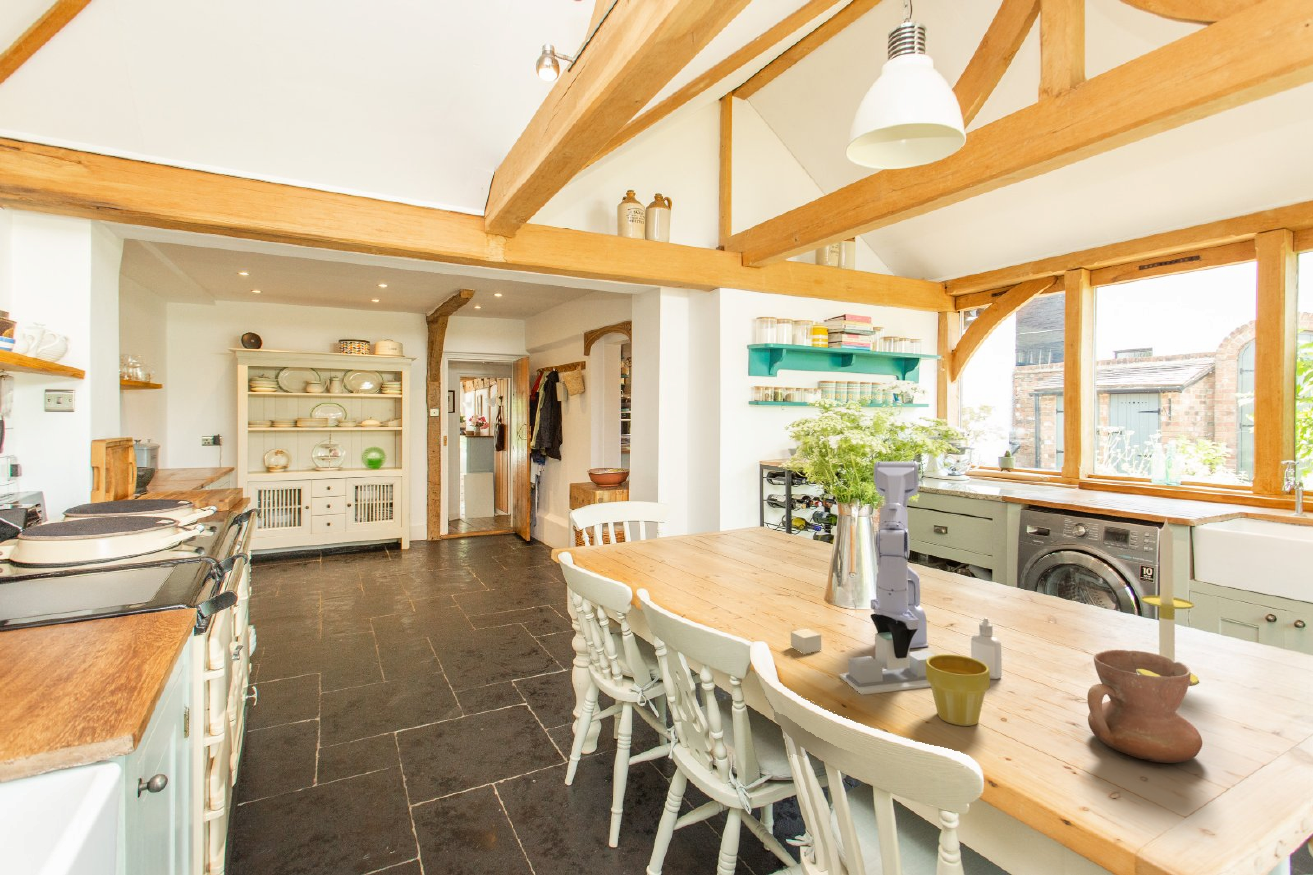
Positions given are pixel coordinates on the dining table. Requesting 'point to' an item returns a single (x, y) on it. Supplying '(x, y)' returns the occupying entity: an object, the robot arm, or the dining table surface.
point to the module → (889, 653)
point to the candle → (1166, 601)
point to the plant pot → (958, 687)
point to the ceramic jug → (1142, 706)
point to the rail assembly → (886, 674)
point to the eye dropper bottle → (987, 649)
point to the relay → (806, 640)
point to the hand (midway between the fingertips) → (893, 653)
